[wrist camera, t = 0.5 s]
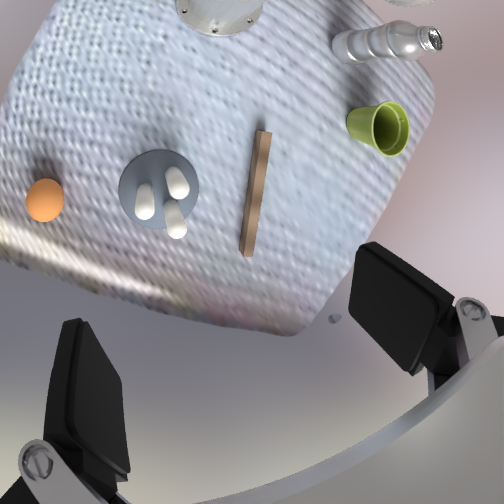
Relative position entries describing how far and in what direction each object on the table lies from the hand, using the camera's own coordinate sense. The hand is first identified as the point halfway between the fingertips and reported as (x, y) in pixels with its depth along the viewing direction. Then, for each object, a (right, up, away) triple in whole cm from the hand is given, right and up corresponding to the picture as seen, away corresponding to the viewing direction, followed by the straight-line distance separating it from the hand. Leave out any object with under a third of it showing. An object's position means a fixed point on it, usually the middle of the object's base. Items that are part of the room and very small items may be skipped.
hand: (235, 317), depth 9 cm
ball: (-28, +9, +22) cm, 36 cm away
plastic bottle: (+16, +37, +28) cm, 49 cm away
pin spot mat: (-13, +11, +30) cm, 35 cm away
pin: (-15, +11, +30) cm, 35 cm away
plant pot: (+20, +25, +36) cm, 48 cm away
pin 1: (-11, +13, +30) cm, 35 cm away
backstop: (0, +11, +36) cm, 37 cm away
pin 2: (-12, +9, +32) cm, 35 cm away
